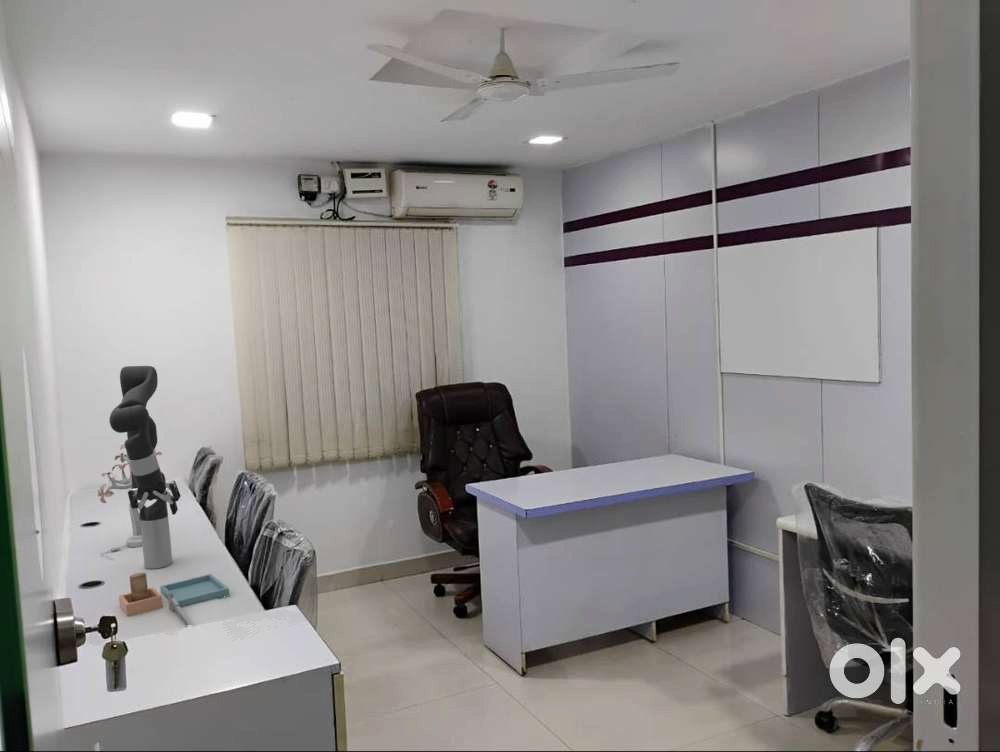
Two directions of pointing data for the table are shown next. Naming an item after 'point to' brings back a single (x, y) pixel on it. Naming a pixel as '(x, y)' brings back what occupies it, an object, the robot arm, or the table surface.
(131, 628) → the table surface
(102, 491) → the decorative lamp
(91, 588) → the table surface
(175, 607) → the caliper
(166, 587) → the tray
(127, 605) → the peach open box
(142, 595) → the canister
